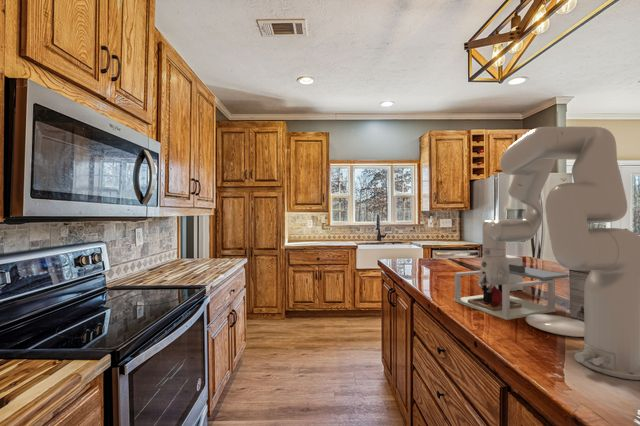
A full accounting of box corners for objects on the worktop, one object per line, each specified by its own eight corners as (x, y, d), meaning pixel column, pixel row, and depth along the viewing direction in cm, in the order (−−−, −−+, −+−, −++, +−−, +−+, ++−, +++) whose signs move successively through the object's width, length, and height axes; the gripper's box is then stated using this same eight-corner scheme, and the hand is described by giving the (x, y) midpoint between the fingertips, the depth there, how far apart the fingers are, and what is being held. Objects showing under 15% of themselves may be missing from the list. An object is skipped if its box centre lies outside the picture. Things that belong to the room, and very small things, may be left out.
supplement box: (523, 290, 138) (523, 257, 138) (505, 291, 137) (505, 257, 137) (508, 286, 147) (508, 254, 147) (491, 286, 146) (491, 255, 146)
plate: (571, 342, 84) (571, 338, 84) (513, 321, 100) (513, 318, 100) (610, 333, 90) (610, 329, 90) (549, 315, 106) (549, 311, 106)
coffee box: (588, 313, 107) (588, 267, 107) (610, 320, 101) (610, 270, 101) (568, 316, 105) (568, 268, 104) (589, 322, 98) (589, 272, 98)
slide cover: (543, 280, 108) (543, 270, 108) (488, 269, 129) (487, 260, 129) (568, 277, 112) (567, 267, 112) (510, 267, 133) (510, 258, 133)
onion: (506, 310, 111) (505, 287, 111) (488, 309, 112) (488, 287, 112) (500, 305, 117) (499, 284, 117) (483, 304, 118) (483, 283, 118)
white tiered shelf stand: (506, 319, 101) (506, 285, 101) (453, 301, 123) (453, 272, 123) (556, 311, 110) (555, 279, 110) (498, 295, 131) (498, 268, 131)
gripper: (485, 255, 108) (485, 307, 108) (520, 253, 114) (520, 302, 114) (468, 253, 115) (468, 301, 115) (502, 250, 121) (502, 296, 121)
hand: (494, 301), depth 115 cm, fingers closed on onion, 5 cm apart
